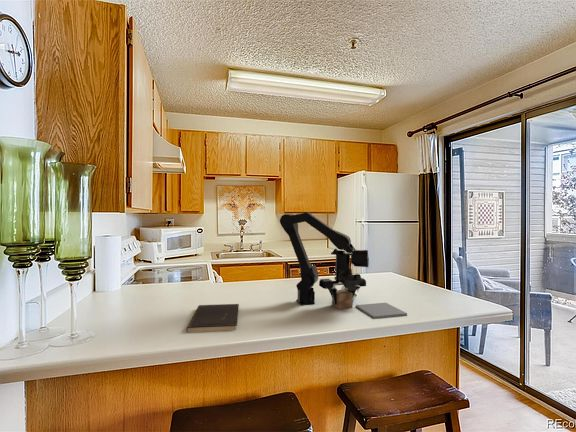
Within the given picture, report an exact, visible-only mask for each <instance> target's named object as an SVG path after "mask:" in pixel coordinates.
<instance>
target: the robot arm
mask: <svg viewBox="0 0 576 432" xmlns="http://www.w3.org/2000/svg"><path fill="white" fill-rule="evenodd" d="M279 223H280V226H281V227H282V229H283V231H284V232H285V233H286V234H287V236H288V238H289V240H290V243H291V245H292V248H293V250H294V254H295V256H296V259H297V261H298V264H299V267H300V268H299V271H300V279H301V280H300V281H299V282H297V284H296V285H295V286H296V289H297V299H295V300H296V302H297V303H298V304H299V305H302V306H304V305H315V303H316V302H315V301H316V300H315V299H316V298H315V292H316V291H314V285H315V284H316V283H317V282H318V280H319V282H318V285H319V287H321V288H322V289H324V290H326V289H327V290H328V292H329V294H330V296H331V300H332V299H333V302H334V304H336V291H337V290H338V288H336V286H343V285H344V287H345V288H348V291H349V292H352V293H353V296H354V294H355V292H356V290H357V289H359V290H360V289H361V287H367V281H366V279H365V278H364V277H362V275H361V274H360V273H356V274H353V272H352V271H353V270H352V269H351V264H352V265H353V267H355V268H356V267H357V268H358V267H359V268H369V264H370V257H369V250H368V249H356V248H355V246H354V245H353V244H352V240H351V237H350V236H349V235H347V234H345V233H343V232H341V231H338V230H336V229H333V228H332V227H331V226H329V225H327V224H326V223H325V222H323V221H322V220H320V219H319V218H318V217H316V216H315V215H313V214H312V213H311V212H310V211H305V212H303V213H297V214H293V213H285V214H282V215H281V216H280V219H279ZM300 223H306V224H308V225H309V226H311V227H313V229H315V230H316V231H318V232H320V234H322V235H323V236H325V237H327V239H328V240H329V241H330V242H331V243H332V244H333V246H335V248H334V249H333V250H332V252H330V255H335V267H334V270H335V276H334V280H332V279H330V278H321V279H319V274H320V272H319V271H318V268H317V266H316V264H314V265H313V264H312V263H311V262H310V259H309V257H308V254H307V251H306V250H305V246H304V244H303V241H302V239H301V236H300V232H299V224H300Z"/></svg>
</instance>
